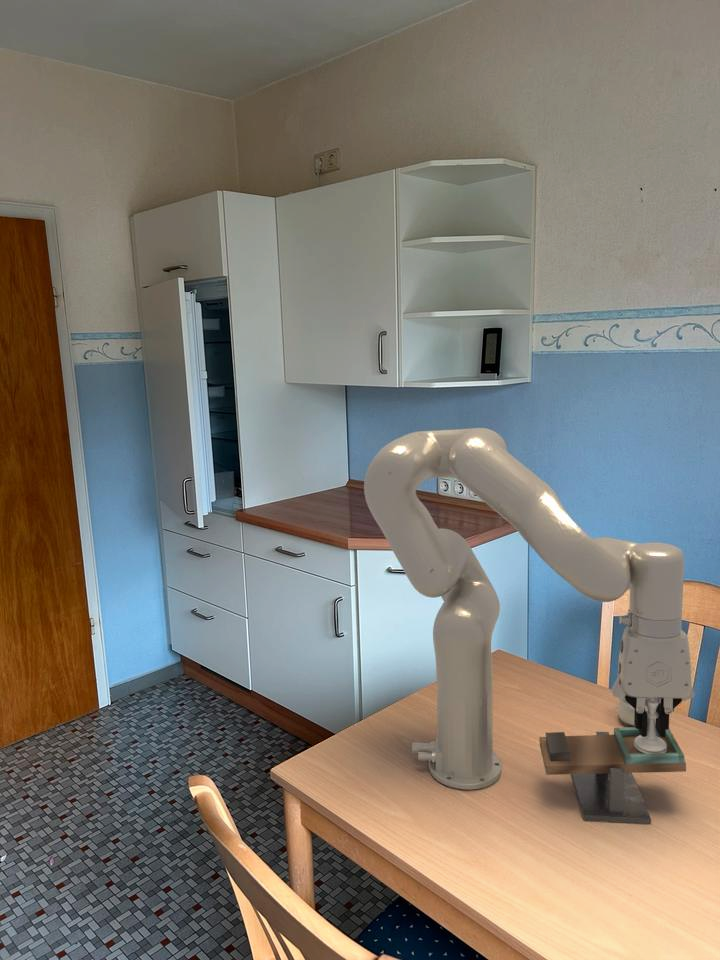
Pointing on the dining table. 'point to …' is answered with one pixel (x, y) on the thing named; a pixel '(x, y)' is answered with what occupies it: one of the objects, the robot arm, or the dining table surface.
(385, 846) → the dining table surface
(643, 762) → the balance beam
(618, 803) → the stand
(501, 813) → the dining table surface
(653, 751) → the chess piece
